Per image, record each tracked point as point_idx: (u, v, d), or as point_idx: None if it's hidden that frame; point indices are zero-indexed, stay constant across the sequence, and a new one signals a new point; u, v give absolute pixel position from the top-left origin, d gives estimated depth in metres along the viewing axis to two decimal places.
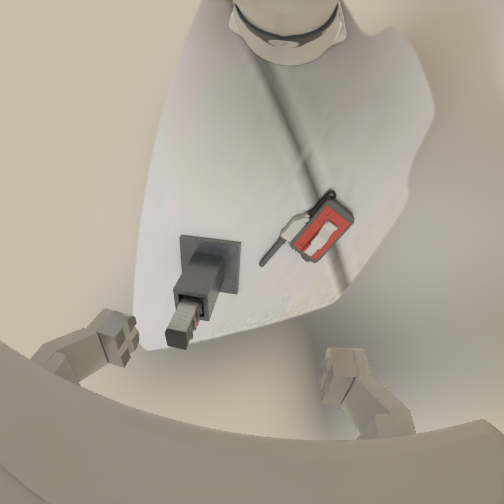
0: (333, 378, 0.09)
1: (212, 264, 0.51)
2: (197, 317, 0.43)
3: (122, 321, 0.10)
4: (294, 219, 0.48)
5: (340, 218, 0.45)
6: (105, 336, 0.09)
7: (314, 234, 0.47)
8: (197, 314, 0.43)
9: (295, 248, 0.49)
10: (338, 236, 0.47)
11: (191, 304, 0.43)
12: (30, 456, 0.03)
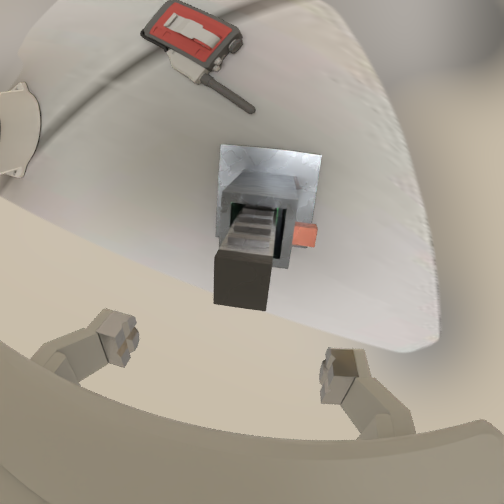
0: (333, 378, 0.09)
1: None
2: (257, 220, 0.20)
3: (122, 321, 0.10)
4: (173, 67, 0.27)
5: (165, 14, 0.22)
6: (105, 336, 0.09)
7: (187, 37, 0.24)
8: (248, 218, 0.20)
9: (210, 58, 0.25)
10: (193, 10, 0.22)
11: None
12: (30, 456, 0.03)
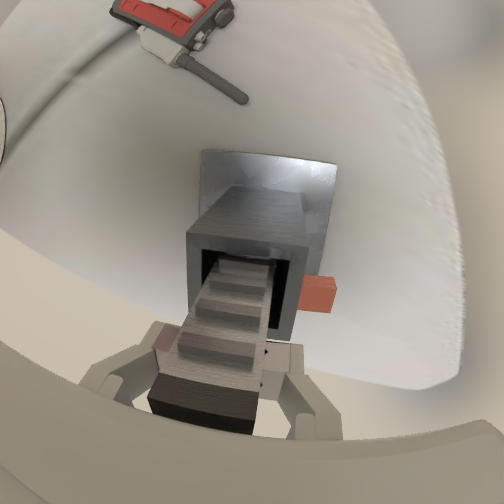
0: (262, 372, 0.09)
1: None
2: (240, 287, 0.12)
3: None
4: None
5: None
6: (163, 352, 0.09)
7: (161, 9, 0.16)
8: (225, 284, 0.12)
9: (189, 33, 0.17)
10: None
11: None
12: (30, 456, 0.03)
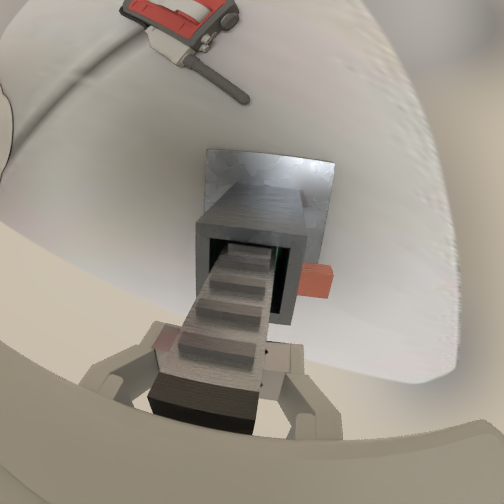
0: (262, 372, 0.09)
1: None
2: (240, 287, 0.12)
3: None
4: (153, 47, 0.20)
5: None
6: (163, 352, 0.09)
7: (170, 11, 0.17)
8: (226, 284, 0.12)
9: (196, 35, 0.18)
10: None
11: None
12: (30, 456, 0.03)
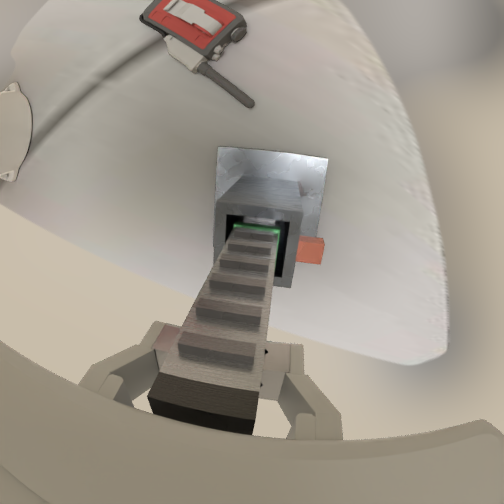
0: (262, 372, 0.09)
1: None
2: (240, 287, 0.12)
3: None
4: None
5: None
6: (163, 352, 0.09)
7: (187, 23, 0.21)
8: (226, 284, 0.12)
9: (209, 46, 0.22)
10: None
11: None
12: (30, 456, 0.03)
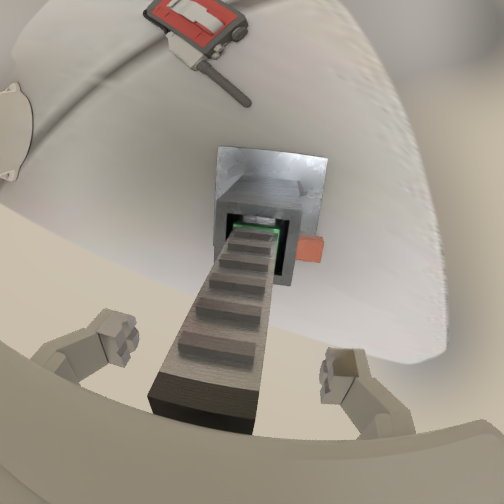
0: (333, 378, 0.09)
1: None
2: (240, 287, 0.12)
3: (122, 321, 0.10)
4: None
5: None
6: (105, 336, 0.09)
7: (189, 20, 0.21)
8: (225, 284, 0.12)
9: (210, 44, 0.22)
10: None
11: None
12: (30, 456, 0.03)
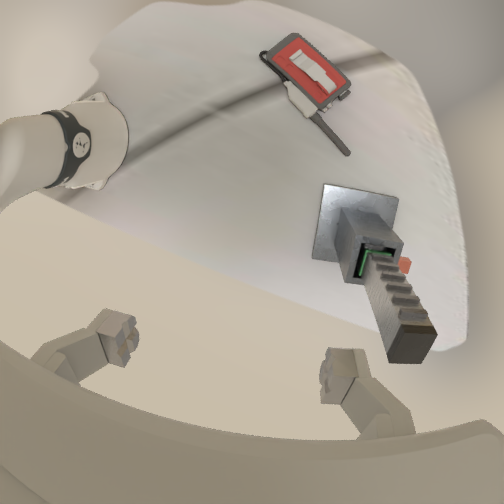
0: (333, 378, 0.09)
1: (342, 223, 0.37)
2: (402, 288, 0.21)
3: (122, 321, 0.10)
4: (289, 98, 0.34)
5: (289, 46, 0.30)
6: (105, 336, 0.09)
7: (307, 76, 0.31)
8: (396, 286, 0.21)
9: (325, 102, 0.32)
10: (315, 51, 0.29)
11: (379, 291, 0.23)
12: (30, 456, 0.03)
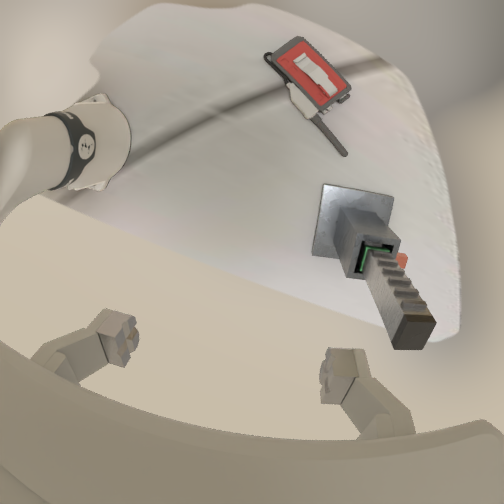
0: (333, 378, 0.09)
1: (341, 221, 0.39)
2: (402, 282, 0.23)
3: (122, 321, 0.10)
4: (291, 99, 0.35)
5: (294, 49, 0.31)
6: (105, 336, 0.09)
7: (310, 79, 0.33)
8: (396, 280, 0.23)
9: (326, 105, 0.34)
10: (318, 55, 0.31)
11: (381, 285, 0.25)
12: (30, 456, 0.03)
